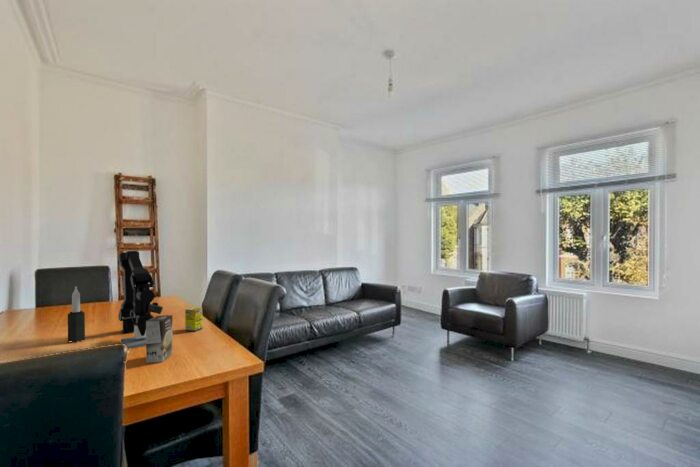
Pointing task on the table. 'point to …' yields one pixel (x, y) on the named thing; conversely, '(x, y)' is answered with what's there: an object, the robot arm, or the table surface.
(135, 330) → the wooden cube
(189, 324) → the supplement box
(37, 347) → the table surface
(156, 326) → the coffee box
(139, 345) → the rubber mat
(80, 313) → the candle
